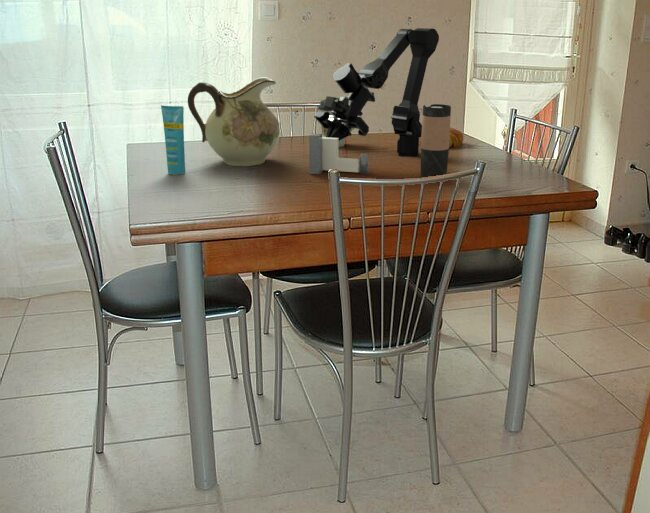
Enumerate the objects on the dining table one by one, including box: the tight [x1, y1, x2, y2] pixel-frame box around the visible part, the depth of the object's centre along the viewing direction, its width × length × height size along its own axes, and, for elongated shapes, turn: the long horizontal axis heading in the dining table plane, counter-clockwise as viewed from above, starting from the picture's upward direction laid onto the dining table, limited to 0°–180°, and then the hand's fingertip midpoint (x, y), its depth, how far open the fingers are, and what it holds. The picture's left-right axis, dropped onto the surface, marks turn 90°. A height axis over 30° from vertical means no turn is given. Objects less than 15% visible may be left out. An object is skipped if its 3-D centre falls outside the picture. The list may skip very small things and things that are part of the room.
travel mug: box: [420, 103, 452, 178], centre depth 198 cm, size 8×8×20 cm
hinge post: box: [359, 153, 370, 175], centre depth 207 cm, size 2×2×6 cm
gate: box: [322, 137, 360, 173], centre depth 208 cm, size 14×2×9 cm, turn 72°
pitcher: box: [187, 76, 281, 167], centre depth 218 cm, size 22×24×25 cm
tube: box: [160, 104, 186, 176], centre depth 205 cm, size 7×5×19 cm, turn 72°
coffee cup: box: [317, 99, 347, 148], centre depth 246 cm, size 11×11×15 cm
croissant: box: [449, 126, 464, 149], centre depth 248 cm, size 14×16×8 cm
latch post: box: [308, 133, 323, 175], centre depth 206 cm, size 3×3×11 cm
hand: (326, 145), depth 210 cm, fingers closed
